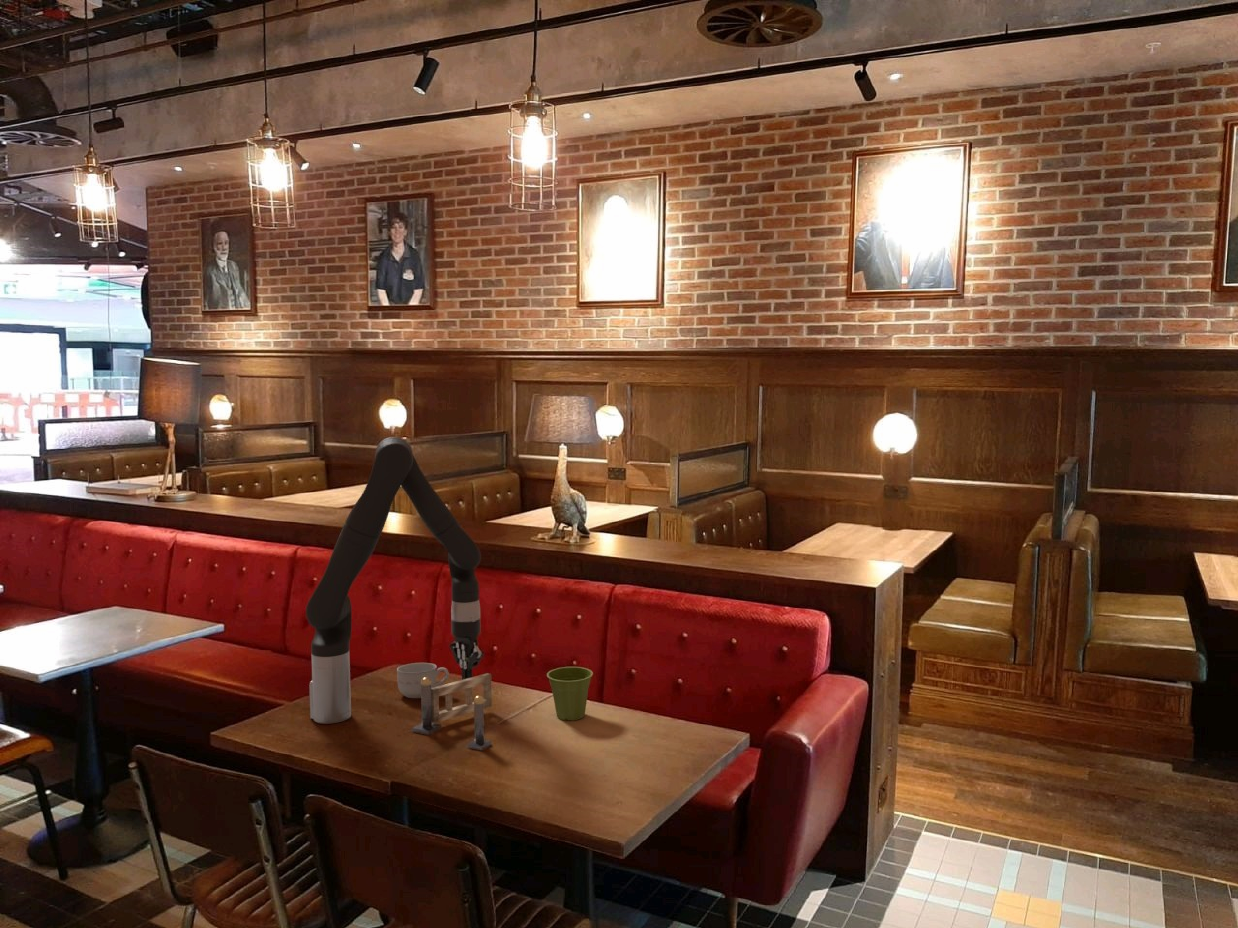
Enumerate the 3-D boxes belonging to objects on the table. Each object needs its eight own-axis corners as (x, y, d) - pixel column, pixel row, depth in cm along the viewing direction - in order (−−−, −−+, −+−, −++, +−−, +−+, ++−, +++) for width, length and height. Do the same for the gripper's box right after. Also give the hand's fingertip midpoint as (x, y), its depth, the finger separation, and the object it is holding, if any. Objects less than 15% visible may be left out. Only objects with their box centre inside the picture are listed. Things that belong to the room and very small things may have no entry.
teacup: (391, 700, 249) (390, 671, 248) (406, 687, 259) (406, 659, 259) (440, 703, 246) (439, 674, 246) (454, 690, 257) (453, 662, 256)
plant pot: (566, 704, 245) (566, 663, 244) (602, 714, 238) (602, 671, 237) (537, 717, 236) (537, 675, 235) (573, 728, 229) (573, 683, 228)
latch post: (467, 747, 216) (466, 696, 215) (477, 741, 220) (476, 691, 219) (481, 750, 215) (480, 699, 214) (491, 744, 218) (490, 694, 217)
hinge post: (412, 731, 226) (411, 678, 225) (425, 724, 231) (424, 673, 230) (428, 735, 224) (427, 681, 223) (441, 728, 228) (440, 675, 227)
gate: (434, 723, 228) (433, 689, 227) (430, 721, 229) (430, 688, 228) (491, 706, 240) (491, 674, 239) (488, 704, 241) (487, 672, 240)
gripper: (439, 614, 243) (441, 678, 244) (468, 624, 233) (469, 690, 235) (463, 609, 248) (464, 672, 249) (492, 618, 238) (493, 684, 240)
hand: (467, 681), depth 242 cm, fingers closed
